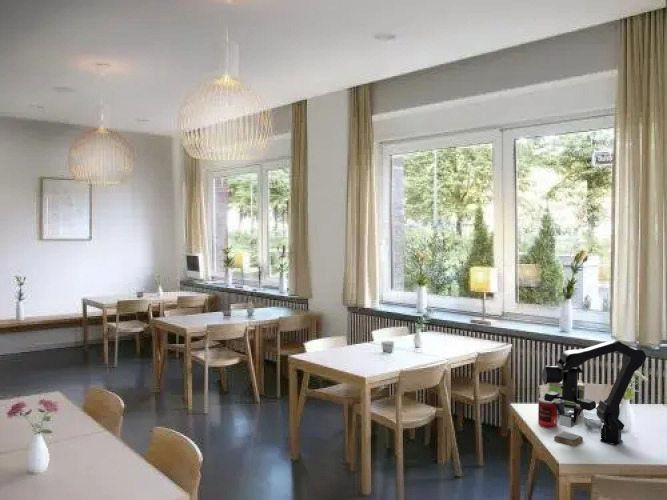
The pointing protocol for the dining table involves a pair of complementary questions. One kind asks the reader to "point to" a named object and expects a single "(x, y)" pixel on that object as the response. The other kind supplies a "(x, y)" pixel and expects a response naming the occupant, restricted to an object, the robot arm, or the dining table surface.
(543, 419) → the canned food
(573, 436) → the stand
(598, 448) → the dining table surface
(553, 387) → the tea box
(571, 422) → the housing
